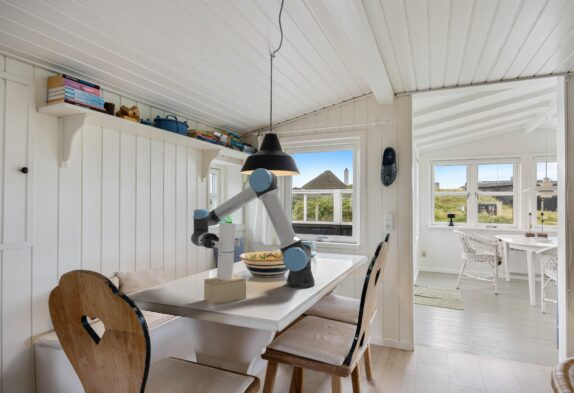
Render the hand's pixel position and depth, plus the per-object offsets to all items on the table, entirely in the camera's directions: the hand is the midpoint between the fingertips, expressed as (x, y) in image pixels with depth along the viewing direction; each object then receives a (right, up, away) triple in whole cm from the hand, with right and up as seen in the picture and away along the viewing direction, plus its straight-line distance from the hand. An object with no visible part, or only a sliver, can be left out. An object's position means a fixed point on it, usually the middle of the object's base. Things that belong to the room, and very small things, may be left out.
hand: (229, 244), depth 146 cm
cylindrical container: (-3, -16, +3) cm, 17 cm away
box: (-2, -25, +3) cm, 26 cm away
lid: (-3, -17, +3) cm, 18 cm away
